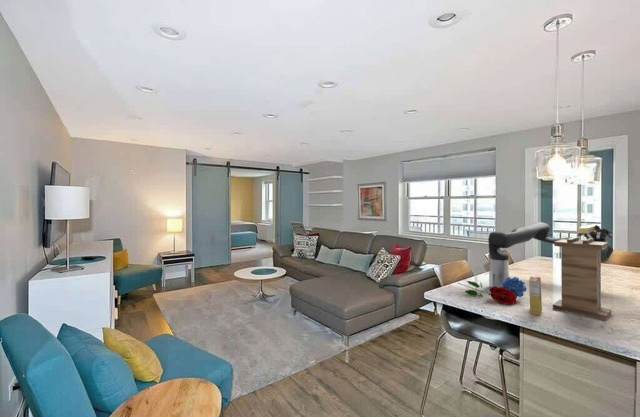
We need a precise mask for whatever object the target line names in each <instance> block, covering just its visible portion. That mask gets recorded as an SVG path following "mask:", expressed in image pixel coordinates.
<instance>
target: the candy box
mask: <svg viewBox="0 0 640 417" xmlns="http://www.w3.org/2000/svg"><path fill="white" fill-rule="evenodd" d="M541 279H542V278H541V277H540V276H530V277H529V280H528V287H529V313H530V314H532V315H537V316H538V315H539V316H541V315H542V310H543V306H542V303H543V302H542V284H541V283H542V280H541Z"/></svg>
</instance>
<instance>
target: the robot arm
mask: <svg viewBox="0 0 640 417" xmlns="http://www.w3.org/2000/svg"><path fill="white" fill-rule="evenodd" d="M587 225H588V224H585V226H587ZM594 225H595V230H596V231H593V232H590V233H578V232H577V237H582V236H583V237H584V238H585V239H588V238H594V241H595V242H608V239H612V238H613V233H612V232H611V231H609V230H607V229H606V228H601V226H599V225H598V224H594ZM550 230H551V227H550V224H548V223H546V222H541V221H536V222H532V223H530V224H528V225H525V226H520V227H515V228H514V229H513V230H511V232H502V231H501V232H500V231H491V232H490V233H489V235H488V238H487V239H488V253H489V258H490V263H489V264H490V265H489V266H490V267H489V271H488V274H489V276H488V283H489V284H488V286H489V287H490V288H492V287H495V286H496V287H503V286H502V285H501V283H502V282H503V281H506V278H507V277H510V274H509V272H510V268H509V263H510V262H509V255H508V254H507V253H505V252H503V251H502V250H501V249H508V248H511V247H513V246H515V245H519V244H522V243H526V242H529V241H530V240H532V239H534V240H537V241H541V242H544V243H547V244H548V243H549V244H551V245H552V244H553V245H554V242H555V241H559V240H562V239H564V240H567V239H570V238H573V237H572V236H568V237H557V238H554V237H550V236H548V235H549V233H550ZM607 238H608V239H607ZM579 240H580V241H583V240H584V239H580V238H579ZM613 252H614V248H613V247H612V246H611V245H609V244H608V247H607V248H605V249H603V250H601V263H606V262H608V261H609V259H610V258H611V256H612V254H613Z"/></svg>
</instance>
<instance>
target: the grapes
mask: <svg viewBox="0 0 640 417" xmlns="http://www.w3.org/2000/svg"><path fill="white" fill-rule="evenodd" d="M501 285H502V286H503V287H504V288H506V289H508V290H510V291H512V292H513V293H514V294H515V296H516V299H518V298H522V297H523V296H524V293H525V292H526V291H527V287H526V286H525V281H524V280H522V279H520V278H519V276H513V277H510V276H509V277H507V278H506V281H503V282H502V283H501Z"/></svg>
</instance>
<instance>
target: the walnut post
mask: <svg viewBox="0 0 640 417" xmlns="http://www.w3.org/2000/svg"><path fill="white" fill-rule="evenodd" d="M579 237H580V236H574V237H573V238H570V239H567V240H564V239H562V240H559V241H555V242H554V244H553V245H554V247H560V248H561V250H560V252H561V253H560V255H561V256H560V259H561V268H560V269H561V278H560V279H561V299H558V300H557V301H556V302H554V303H553V304H552V310H556V311H560V312H565V313H569V314H573V315H579V316H584V317H589V318H592V319H595V320H596V319H597V320H602V321H605V320H606V321H608V319H609V317H610V316H611V315H612V309H610V308H605V307H602V262H601V250H603V249H605V248H607V247H608V245H609V242H608V241H607V242H595V241H594V238H588V239H586V238H585V239H582V240H583V241H580V240H581V239H580V238H579ZM579 239H580V240H579Z"/></svg>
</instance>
